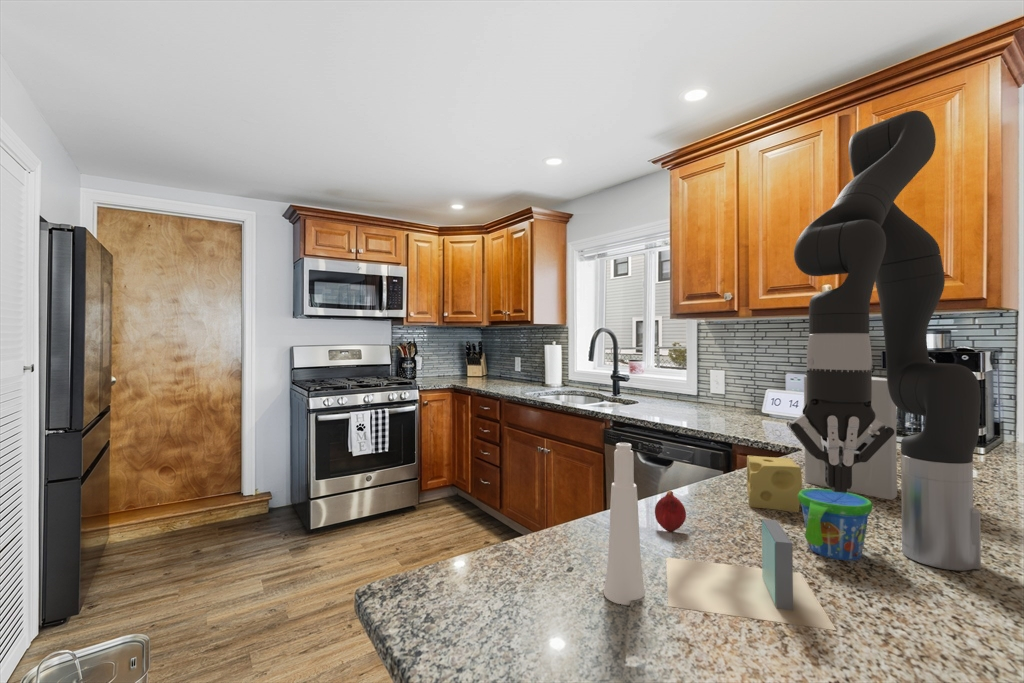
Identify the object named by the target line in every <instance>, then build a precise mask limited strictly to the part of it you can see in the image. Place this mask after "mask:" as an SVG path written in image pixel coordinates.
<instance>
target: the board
mask: <svg viewBox="0 0 1024 683" xmlns="http://www.w3.org/2000/svg"><path fill="white" fill-rule="evenodd" d="M665 563H666V584H667V585H666V587H667V590H666V591H667V607H668V608H674V609H675V608H676V609H682V610H692V611H696V612H702V613H703V612H705V613H709V614H710V613H711V614H717V615H719V614H720V615H723V616H724V615H725V616H733V617H737V618H738V617H740V618H745V619H746V618H747V619H752V620H753V619H754V620H757V621H758V620H759V621H767V622H772V623H773V622H774V623H781V624H788V625H795V626H803V627H808V628H809V627H810V628H817V629H822V630H830V631H836V632H837V628H836V627H835V626H834V624H833V622H832V621H831V619H830V617H829V616H828V614H827V613H826V611H825V610H824V608H823V606H822V605H821V603H820V602H819V600H818V598H817V597H816V595H815V593H814V592H813V590H812V589H811V587H810V586H809V584H808V583H807V581H806V580H805V578H804V576H803V574H802V573H801V572H796V571H795V572H794V571H793V611H791V610H784V609H777V608H776V606H775V604H774V602H773V600H772V598H771V595H770V593H769V591H768V589H767V587H766V584H765V582H764V580H763V577H762V567H761V568H760V567H751V566H744V565H743V566H742V565H737V564H736V565H734V564H725V563H718V562H708V561H700V560H692V559H684V558H675V557H673V558H672V557H667V556H666V557H665Z"/></svg>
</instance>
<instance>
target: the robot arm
mask: <svg viewBox="0 0 1024 683" xmlns="http://www.w3.org/2000/svg"><path fill="white" fill-rule="evenodd" d="M936 139H937V137H936V131H935V128H934V125H933V123H932V120H931V119H930V117H929V116H928V115H927V114H926V113H925V112H923V111H921V110H910V111H905V112H902V113H900V114H897V115H894V116H892V117H889V118H885V120H882V121H879V122H877V123H875V124H872V125H870V126H867V127H865V128H862V129H860V130H858V131H856V132H855V133H853V134H852V135H851V137H850V139H849V142H848V158H849V165H850V169H851V172H852V175H853V179H852V180H850V181H849V182H848V183H847V184H846V185H845V186H844V188H843V189H842V190H841V191H840V192H839V194H838V195H837V198H836V199H835V201H834V203H833V205H831V207H830V208H829V209H828V210H826V211H824V212H823V213H822V214H821V215H820V216H818V217H817V218H816V219H815V220H813V221H812V222H810V223H809V225H808V226H806V227H805V228H804V230H802V232H801V233H800V235H799V236H798V239H797V240H796V242H795V245H794V249H793V257H794V263H795V265H796V267H797V268H798V269H799V271H800V272H802V273H803V274H805V275H807V276H810V277H825V276H826V277H827V276H834V275H836V276H837V275H844V274H847V276H846V278H845V280H844V281H843V282H842V283H841V285H840V286H838V287H836V288H833V289H829V290H826V291H822V292H820V293H816V294H814V295H813V296H811V298H810V300H809V304H808V333H809V334H808V342H807V347H806V377H807V403H806V405H805V407H804V406H803V408H802V414H800V415H799V417H797V418H795V419H791V420H788V421H787V422H786V427H787V428H788V429H789V430H790V432H791V433H792V434H793V436H794V437H796V439H797V441H799V442H800V444H801V445H802V446H803V447H804V449H805V448H806V449H807V451H808V452H809V453H810V454H811V455H812V456H814V457H815V458H816V459H818V460H823V461H824V462H825V482H826V484H827V485H828V486H829V487H828V488H829V489H830V490H832V491H834V492H841V493H847V492H848V491H847V489H850V488H851V486H852V466H853V465H854V464H856V463H860V462H867V461H868V460H869V459H870V458H871V457H872V456H873V455H874V454H875V453H876V452H877V451H878V450H879V449H880V448H881V447H882V446H883V445H884V444H885V443H886V442H887V441H888V440H889V438H890V437H891V436H892V435H893V434H894V429H893V428H891V427H888V426H885V425H884V424H882V423H881V422H880V421H878V420H877V419H875V417H876V415H875V412H874V411H873V409H872V406H871V400H872V377H873V376H872V373H873V372H872V369H873V368H872V367H873V365H874V364H873V363H874V362H873V357H872V345H871V339H870V304H871V299H872V294H873V290H874V286H875V287H876V292H877V296H878V301H879V306H880V307H879V308H880V313H881V314H880V316H881V322H882V329H883V335H884V345H885V346H884V347H885V351H884V352H885V367H886V379H887V384H888V390H889V394H890V397H891V399H892V401H893V403H894V404H895V405H896V408H897V409H898V410H900V411H902V412H904V413H907V414H912V415H917V416H924V417H925V419H924V420H925V421H924V428H923V430H922V431H921V432H919V433H915V434H912V435H911V434H910V435H908V436H907V435H906V436H904V437H902V439H901V442H900V473H901V474H900V478H901V480H900V482H901V484H900V485H901V486H900V488H901V491H900V492H901V552H902V554H903V555H904V556H905V557H907V558H908V559H910V560H912V561H915V562H918V563H920V564H923V565H926V566H930V567H933V568H938V569H944V570H951V571H970V570H982V548H981V547H982V546H981V545H982V542H981V540H982V536H981V533H982V532H981V511H980V510H979V509H978V508H976V507H974V466H973V464H974V462H973V460H974V452H975V449H976V447H977V445H978V441H979V438H980V437H979V436H980V434H979V433H980V421H981V420H980V419H981V416H980V415H981V404H982V403H981V401H982V400H981V398H982V395H981V386H980V383H979V380H978V378H977V376H976V374H975V373H974V372H973V371H972V370H971V369H970V368H968V367H967V366H964V365H961V364H958V363H945V362H944V363H943V362H931V360H930V357H929V351H928V342H927V335H928V334H927V332H928V328H929V324H930V322H931V319H932V316H933V315H934V313H935V311H936V308H937V306H938V304H939V302H940V300H941V298H942V295H943V293H944V289H945V284H946V283H945V280H946V279H945V270H944V265H943V261H942V260H943V259H942V255H941V250H940V246H939V243H938V242H937V240H936V239H935V238H934V237H933V236H932V235H931V234H930V233H929V232H928V231H927V230H926V229H925V228H923V226H921V225H920V224H918V222H916V221H914V220H913V219H912V218H911V217H910V216H908V215H907V214H906V213H905V212H904V211H903V210H902V209H900V207H898V205H897V204H896V203H895V202H894V201H895V200H896V199H897V197H898V196H899V195H900V194H901V192H902V191H903V190H904V189H905V188H906V186H908V184H909V183H911V181H912V180H913V179H914V178H915V177H916V176H917V175H918V173H919V172H920V171H922V169H923V168H924V167H925V166H926V165H927V164H928V162H929V161H930V160H931V158H932V157H933V154H935V153H934V152H935V149H936V144H937V142H936V141H937V140H936ZM807 422H809V423H810V425H811V426H812V427H813V428H814V430H815V431H816V432H817V433H818V434H819V435H820V436H821V443H822V446H823V450H820V448H819V447H818V446H817V445H816V444H815V442H814V441H813V440H812V439H811V438H810V437H809V435H808V434H807V433H806V432H808V430H809V427H808V426H807ZM869 426H870V427H869ZM868 427H869V429H868V433H869V435H868V436H867V437H866V438H865V439H864V440H863V441H862V442H861V443H860V444H859V445H858V447H857V448H856V443H857V438H859V437H860V436H861V435H862V434H863V433H864V431H865V430H866V429H867V428H868Z"/></svg>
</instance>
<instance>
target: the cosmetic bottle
mask: <svg viewBox="0 0 1024 683" xmlns="http://www.w3.org/2000/svg"><path fill="white" fill-rule="evenodd" d="M615 448H616V449H615V450H614V452H613V456H614V457H613V458H614V461H613V462H614V464H613V468H614V469H613V470H614V471H613V475H614V476H613V477H614V479H613V480H614V482H612V483H611V490H610V504H609V505H610V506H609V507H610V508H609V527H608V528H609V530H608V531H609V532H608V534H609V536H608V549H607V550H608V552H607V562H606V563H607V565H606V571H605V572H606V573H605V581H604V586H603V594H604V596H605V598H606V599H607V600H609V601H610V602H612V603H613V604H617V605H620V604H621V606H631V602H632V601H637V600H640V599H642V598H644V597H645V595H646V589H645V583H644V576H643V567H642V554H641V539H640V522H639V521H640V520H639V519H640V518H639V516H640V515H639V502H638V501H639V500H638V486H637V484H636V483H635V478H634V474H635V473H634V470H635V469H634V466H635V465H634V464H635V463H634V451H633V450H631V449H632V444H631V443H629V442H618V443H615Z"/></svg>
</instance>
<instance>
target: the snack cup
mask: <svg viewBox="0 0 1024 683" xmlns="http://www.w3.org/2000/svg"><path fill="white" fill-rule="evenodd" d="M798 499H799V501H800V505H801V508H802V515H803V520H804V527H805V533H804V535H805V536H804V537H805V539H806V541H807V544H808V548H809V549H810V550H811V551H812V552H813V553H816V554H817V555H820V556H823V557H825V558H829V559H834V560H839V561H840V560H841V561H848V562H849V561H856V560H857V561H858V560H860V559H861V558H862V554H863V552H864V551H863V550H864V545H865V539H866V533H867V528H868V521H869V520H868V518H869V516H870V514H871V513H872V510H873V506H874V505H873V503H872V501H871V500H869V498H866V497H864V496H862V495H858V494H857V493H853V492H849V491H847V493H841V492H834V491H832V490H831V489H830V488H829V489H827V488H805V489H802V490H801V491H800V492H799V494H798Z"/></svg>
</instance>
